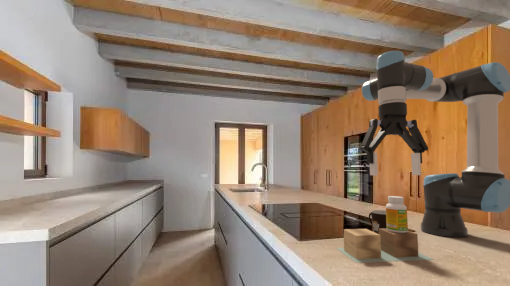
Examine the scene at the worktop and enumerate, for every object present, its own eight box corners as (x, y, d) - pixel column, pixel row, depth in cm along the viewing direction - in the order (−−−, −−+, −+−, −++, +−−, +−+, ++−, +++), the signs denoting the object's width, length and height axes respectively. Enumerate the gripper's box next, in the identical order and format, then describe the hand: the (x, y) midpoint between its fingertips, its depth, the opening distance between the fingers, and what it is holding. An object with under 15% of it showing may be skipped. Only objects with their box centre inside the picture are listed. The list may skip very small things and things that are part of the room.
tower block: (400, 248, 78) (400, 227, 78) (418, 256, 71) (417, 233, 71) (379, 249, 77) (378, 228, 77) (394, 257, 70) (393, 234, 70)
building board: (402, 250, 80) (402, 245, 80) (434, 265, 68) (434, 259, 68) (335, 253, 77) (335, 247, 78) (356, 268, 66) (356, 262, 66)
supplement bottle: (400, 234, 71) (398, 198, 71) (382, 229, 75) (381, 196, 76) (412, 232, 73) (410, 197, 74) (394, 228, 78) (393, 195, 79)
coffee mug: (403, 246, 85) (401, 215, 86) (375, 244, 86) (374, 213, 87) (391, 236, 96) (390, 209, 97) (367, 235, 98) (366, 208, 99)
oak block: (366, 249, 76) (366, 228, 77) (381, 257, 69) (380, 234, 70) (344, 250, 75) (343, 229, 76) (356, 258, 68) (355, 235, 69)
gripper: (420, 107, 83) (424, 174, 81) (346, 105, 80) (349, 174, 78) (439, 102, 75) (444, 175, 74) (359, 99, 72) (362, 175, 70)
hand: (395, 175), depth 76 cm, fingers open, 13 cm apart
